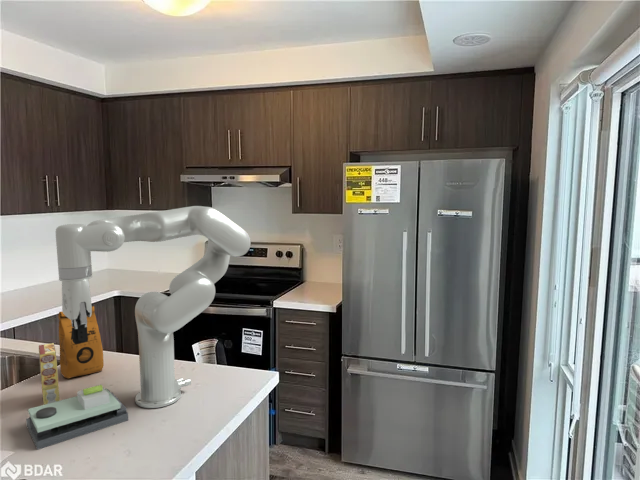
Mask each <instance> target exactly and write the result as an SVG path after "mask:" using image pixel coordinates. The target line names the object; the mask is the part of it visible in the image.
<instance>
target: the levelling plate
mask: <svg viewBox="0 0 640 480" xmlns="http://www.w3.org/2000/svg"><path fill="white" fill-rule="evenodd" d="M76 392H77V393H76V394H77V395H76V396H71V397H69V398H65V399H60V401H57V402H53V403H49V404H46V405H44V404H43V405H38V406H35V407H31V408H28V409H27V414H28V415H29V416H28V417H30V418H31V420H32V422H33V424H34V426H35V428H36V430H37V432H38V433H39V432H42V431H45V430H49V429H52V428H55V427H59V426H62V425H66V424H69V423H72V422H76V421H79V420H82V419H86V418H89V417H93V416H96V415H99V414H103V413H106V412H109V411H113V410H116V409H120V408H121V406H122V404H123V403H122V404H121V403H120V402H119V401H118V400H117V398H118V397H117V396H116V395H115V394H114V393H113V392H112V393H113V394H114V395H115V396H116V397H117V398H116V397H115V396H114V395H113V394H112V393H111V390H109V388H104V387H103V385H102V384H99V385H94V386H90V387H86V388H83V389H81V390H78V391H76Z"/></svg>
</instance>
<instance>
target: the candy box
mask: <svg viewBox="0 0 640 480" xmlns="http://www.w3.org/2000/svg"><path fill="white" fill-rule="evenodd" d="M38 360H39V372H40V382H41V383H40V384H41V393H42V403H43V405H46V404H49V403H53V402H57V401H61V399H60V389H59V388H60V387H59V386H60V385H59V375H58V374H59V373H58V372H59V371H58V360H57V353H56V347H55V344H54V342H53V343H46V344H41V345H38Z"/></svg>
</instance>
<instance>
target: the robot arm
mask: <svg viewBox="0 0 640 480" xmlns="http://www.w3.org/2000/svg"><path fill="white" fill-rule="evenodd" d="M195 235H198V236H203V237H205V238H207V249H206V251H205V253H204V255H203V257H201V258H200V259H199V260H198V261H196V262H195V263H194V264H191V265H190V266H189V267H187V268H186V269H185V270H183V271H182V272H180V273H179V274H177V275H176V276H174V278H173V279H172V280H171V281H170V284H169V287H168V289H169V293H170V295H169V296H168V295H166V294H164V293H162V292H159V291H149V292H146V293H144V294H142V295H141V296H140V297H139V298H138V300H137V301H136V304H135V307H134V316H135V322H136V323H135V324H136V329H137V335H138V336H137V337H138V338H137V339H138V355H139V356H138V357H139V381H140V391H139V392H138V393H137V394H136V395H135V398H134V399H135V400H134V401H135V404H136V405H137V406H139V407H141V408H145V409H159V408H163V407H167V406H169V405H173V404H174V403H176V402H178V400H179V399H180V398H181V396H182V393H181V389H182V388H183V387H188V386H191V385H192V380H191V379H190V378H187V379H186V378H185V379H184V378H183V377H180V378H177V379H176V378H175V377H176V375H175V374H176V371H175V369H176V368H175V340H174V339H175V338H174V332H176V331H178V330H180V329H181V328H183V327H184V326H185V325H186V324H188V323H189V322H191V321H192V320H193V319H194V318H196V317H197V316H199V315H200V314H201V313H202V312H204V311H206V309H208V307H209V306H210V305H211V304H212V302H213V301H214V299H215V296H216V286H215V284H216V283H217V282H218V281H219V280H221V278H222V277H223V276H225V274H226V273H227V270H228V268H229V265H230V264H229V263H230V259H231V257H236V258H237V257H242V256H244V255H246V254H247V253H248V252H249V250H250V248H251V241H252V240H251V238H250V235H249V233H248V232H247V231H246V230H245V229H243V228H242V227H241V226H240V225H238V224H237V223H235V222H234V221H232V220H231V219H230V218H229V217H227V216H226V215H224V213H222V212H221V211H219V210H217V209H215V208H214V207H211V206H202V205H192V206H185V207H178V208H172V209H167V210H158V211H153V212H145V213H139V214H134V215H133V214H132V215H122V216H115V217H109V218H103V219H96V220H93V221H92V222H90V223H88V224H87V225H86V224H82V223H72V224H71V223H70V224H61V225H59V226H57V227H56V229H55V243H56V245H55V247H56V257H57V259H56V260H57V269H58V270H57V271H58V281H59V282H61V308H62V311H63V314H64V315H65V316H66V317H68V318H69V319H70V320H71V323H72V327H74V328H72V337H73V342H74V343H75V344H79V343H84V342H87V341H88V334H87V317H90V316H91V315H92V307H93V306H92V297H91V296H92V295H91V287H90V279H92V278H93V268H92V255H91V252H103V253H108V252H114V251H116V250H118V249H120V248H121V247H122V246H123V244H124V243H129V242H148V243H155V242H156V243H158V242H166V241H171V240H175V239H180V238H185V237H191V236H195Z"/></svg>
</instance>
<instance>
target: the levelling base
mask: <svg viewBox="0 0 640 480" xmlns="http://www.w3.org/2000/svg"><path fill="white" fill-rule="evenodd" d="M110 392H111V391H110ZM111 393H112V394H113V395H114V396H115V397H116V398H117V400H118V401H119V402H120V403H121V404H122V406H121V408H120V409H116V410H113V411H109V412H106V413H103V414H99V415H96V416H93V417H89V418H86V419H82V420H79V421H76V422H72V423H69V424H66V425H62V426H59V427H55V428H52V429H49V430H45V431H42V432H39V433H38V432H37V430H36V428H35V426H34V424H33V422H32V420H31V418H30V416H28V417H27V418H25V422H26V423H25V424H26V427H27V430H28V433H29V434H30V435H29V436H30V437H31V439H32V441H33V443H34V446H35V448H36V450H41V449H44V448H47V447H49V446H52V445H56V444H59V443H62V442H65V441H68V440H71V439H72V440H73V439H75V438H78V437H80V436H84V435H88V434H90V433H94V432H96V431H99V430H102V429H105V428H109V427H111V426H114V425H117V424H122V423H125V422H127V421H129V413H128V411H127V410H128V409H127V407H126V406H125V405H124V403H123V402H122V401H121V400H120V399H119V398H118V397H117V396H116V395H115V394H114V392H111Z"/></svg>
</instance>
